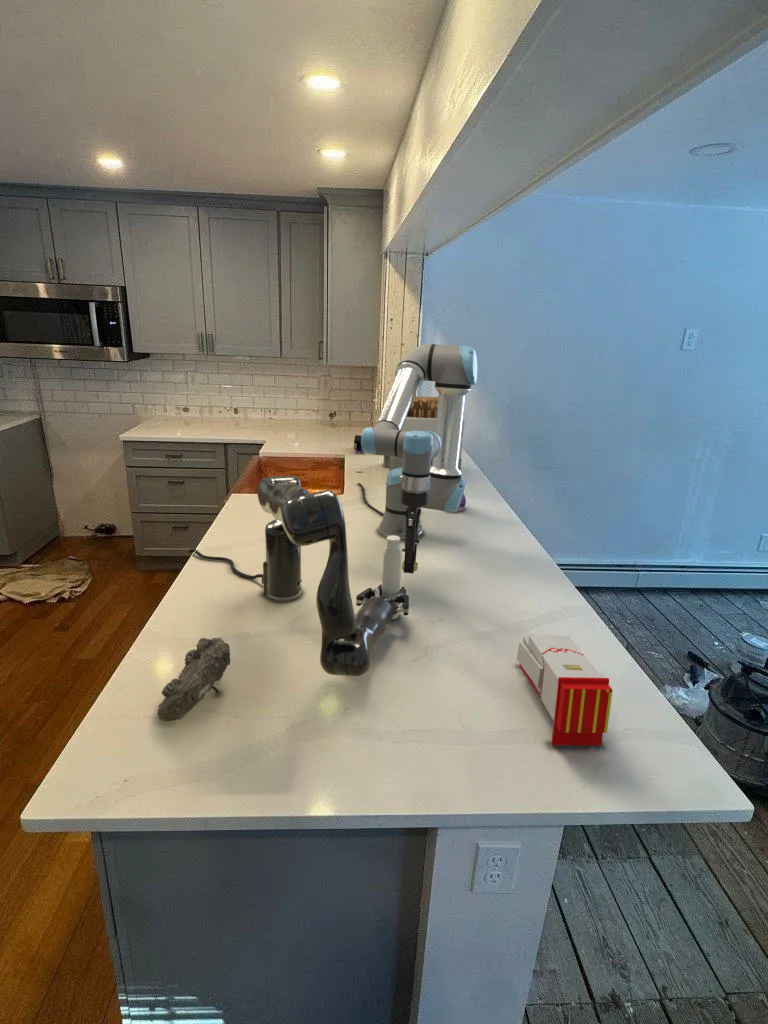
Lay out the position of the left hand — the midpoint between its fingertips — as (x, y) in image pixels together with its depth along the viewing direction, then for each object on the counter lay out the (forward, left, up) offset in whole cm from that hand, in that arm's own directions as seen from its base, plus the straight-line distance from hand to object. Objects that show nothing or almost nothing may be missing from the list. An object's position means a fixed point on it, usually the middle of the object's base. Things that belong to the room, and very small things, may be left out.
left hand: (393, 588), depth 147 cm
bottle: (0, -3, -7) cm, 7 cm away
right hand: (0, +14, -1) cm, 14 cm away
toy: (+42, -22, -7) cm, 48 cm away
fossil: (-26, -46, -7) cm, 54 cm away
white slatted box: (-27, +132, -7) cm, 134 cm away
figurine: (-1, +87, -7) cm, 87 cm away
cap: (0, +14, +1) cm, 14 cm away
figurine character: (-69, +160, -7) cm, 174 cm away
